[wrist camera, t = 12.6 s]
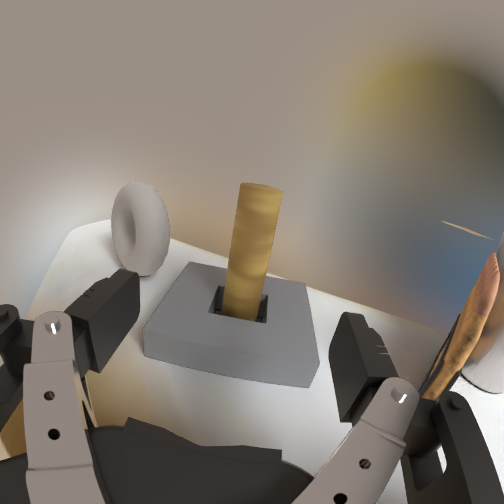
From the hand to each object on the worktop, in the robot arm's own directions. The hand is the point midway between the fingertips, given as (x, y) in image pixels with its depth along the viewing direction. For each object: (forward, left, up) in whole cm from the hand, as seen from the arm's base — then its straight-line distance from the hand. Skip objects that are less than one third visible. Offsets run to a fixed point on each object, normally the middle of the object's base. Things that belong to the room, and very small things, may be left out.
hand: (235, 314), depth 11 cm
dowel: (0, -11, -9) cm, 14 cm away
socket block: (0, -11, -9) cm, 14 cm away
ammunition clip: (-18, -6, -9) cm, 21 cm away
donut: (+12, -17, -9) cm, 23 cm away
